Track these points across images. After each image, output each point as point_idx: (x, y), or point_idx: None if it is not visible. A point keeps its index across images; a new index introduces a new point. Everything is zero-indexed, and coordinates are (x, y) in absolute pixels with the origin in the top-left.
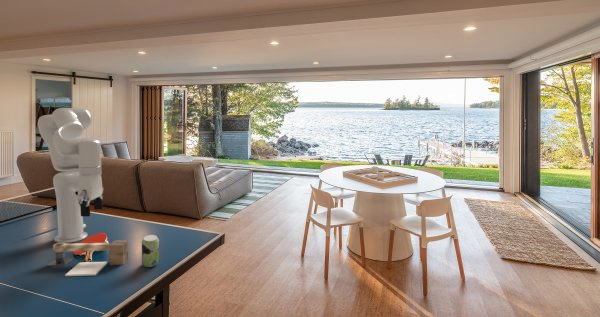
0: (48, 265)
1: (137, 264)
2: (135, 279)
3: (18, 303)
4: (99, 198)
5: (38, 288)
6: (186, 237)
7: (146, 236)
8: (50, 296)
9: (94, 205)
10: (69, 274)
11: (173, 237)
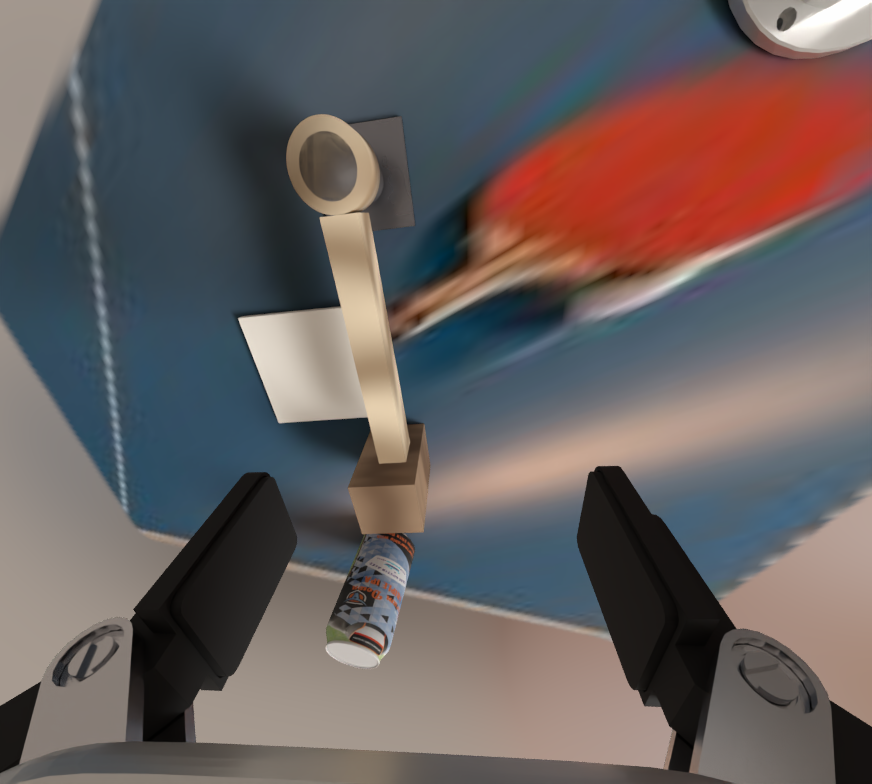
0: None
1: None
2: None
3: (24, 282)
4: (680, 731)
5: (126, 275)
6: None
7: (357, 648)
8: (111, 359)
9: (615, 519)
10: (244, 334)
11: None
